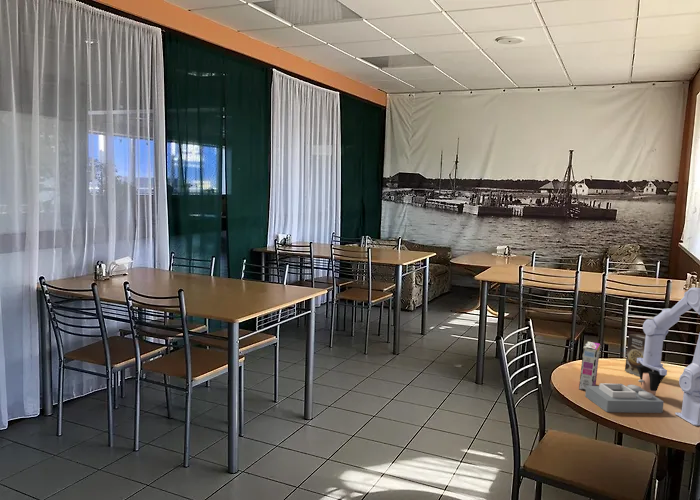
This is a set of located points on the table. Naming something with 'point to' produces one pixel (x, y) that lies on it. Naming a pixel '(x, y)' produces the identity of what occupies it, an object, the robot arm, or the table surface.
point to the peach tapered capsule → (646, 383)
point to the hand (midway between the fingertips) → (648, 387)
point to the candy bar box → (589, 365)
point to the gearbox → (623, 398)
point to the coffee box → (634, 352)
